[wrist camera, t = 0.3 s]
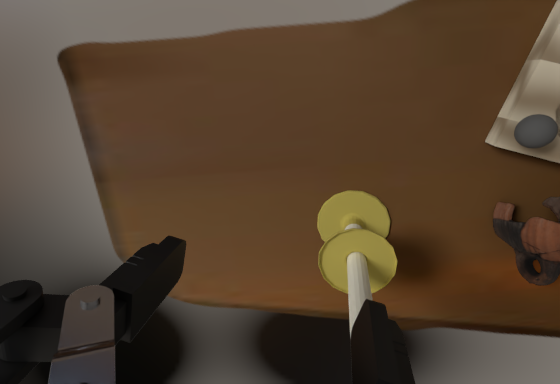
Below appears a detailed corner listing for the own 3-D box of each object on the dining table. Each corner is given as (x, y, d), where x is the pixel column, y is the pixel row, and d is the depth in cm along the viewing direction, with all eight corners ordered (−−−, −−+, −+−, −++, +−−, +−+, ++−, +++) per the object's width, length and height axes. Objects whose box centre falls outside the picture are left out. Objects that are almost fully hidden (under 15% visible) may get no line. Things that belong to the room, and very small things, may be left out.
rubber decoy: (517, 108, 31) (537, 112, 28) (551, 117, 31) (574, 121, 28) (501, 140, 33) (518, 146, 30) (533, 148, 33) (553, 155, 29)
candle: (401, 200, 40) (504, 404, 15) (377, 262, 44) (427, 505, 19) (327, 182, 41) (309, 345, 16) (309, 243, 44) (274, 452, 20)
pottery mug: (494, 178, 37) (576, 186, 29) (545, 182, 40) (632, 191, 32) (477, 271, 39) (551, 302, 31) (528, 269, 42) (607, 297, 34)
